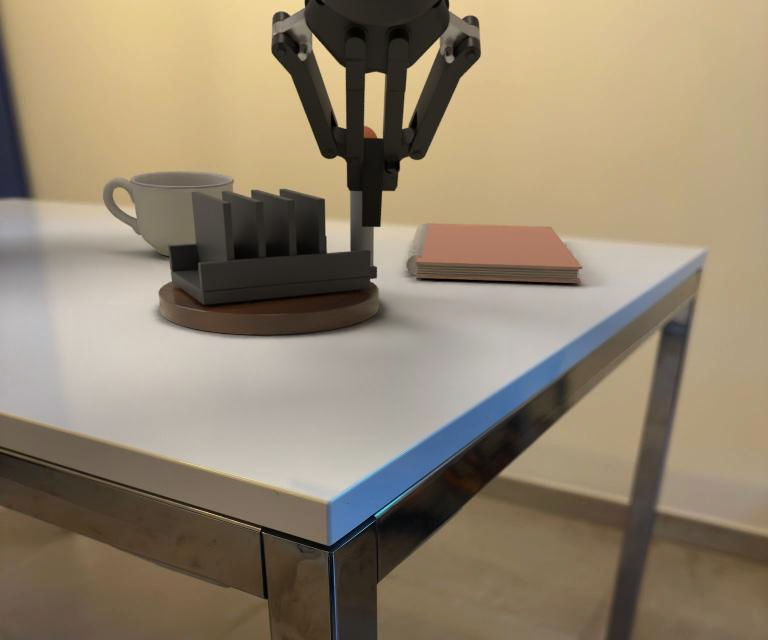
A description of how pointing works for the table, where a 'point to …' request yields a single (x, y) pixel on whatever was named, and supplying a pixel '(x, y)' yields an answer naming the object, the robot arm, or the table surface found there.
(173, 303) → the turntable
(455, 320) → the table surface
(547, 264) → the notebook
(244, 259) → the dish rack
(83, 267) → the table surface
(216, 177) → the teacup
